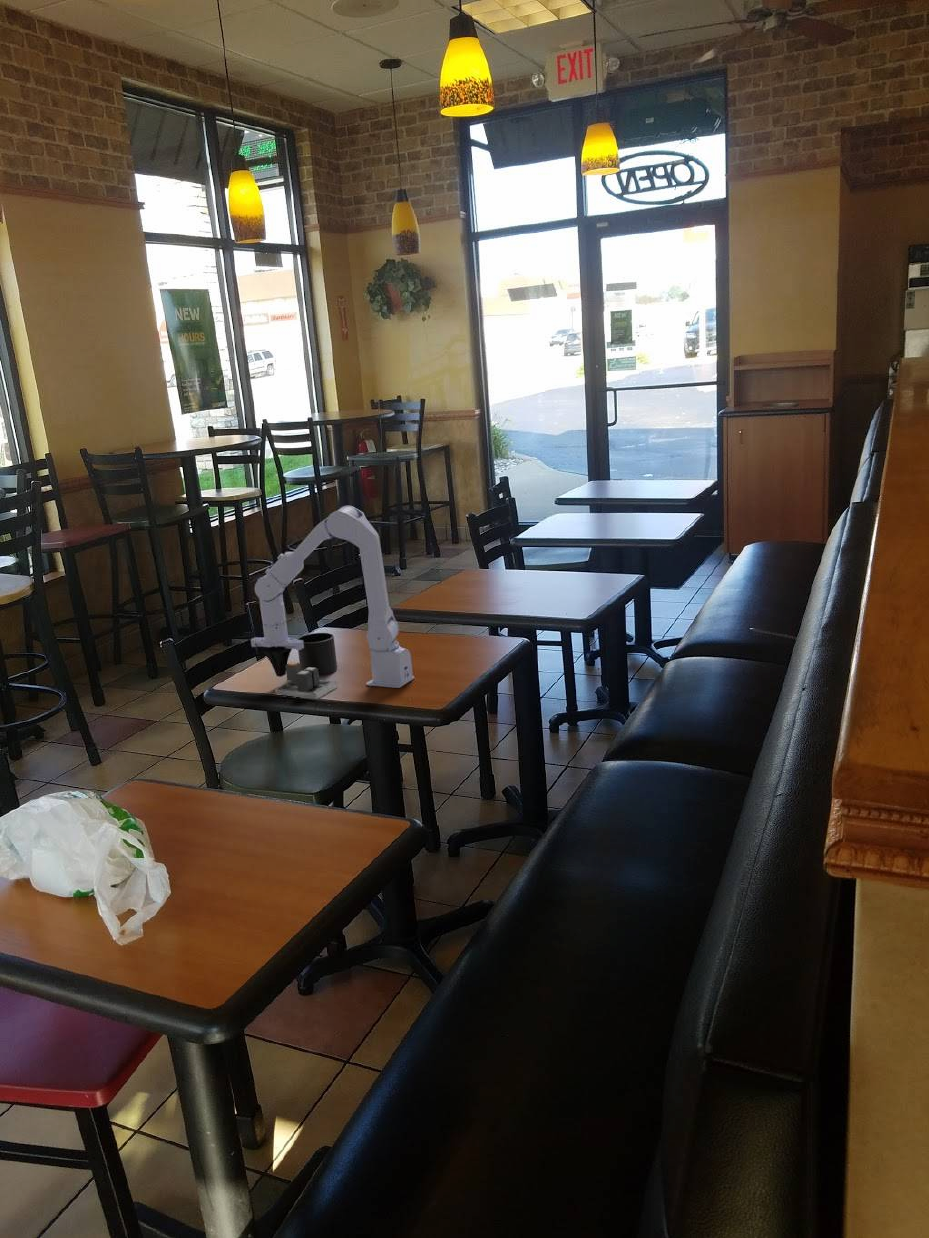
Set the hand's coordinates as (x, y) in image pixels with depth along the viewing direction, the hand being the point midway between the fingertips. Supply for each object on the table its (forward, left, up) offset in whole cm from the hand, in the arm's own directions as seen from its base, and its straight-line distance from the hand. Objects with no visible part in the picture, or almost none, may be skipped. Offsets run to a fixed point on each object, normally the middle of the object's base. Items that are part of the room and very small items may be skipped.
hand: (281, 675), depth 239 cm
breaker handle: (-4, 0, -1) cm, 4 cm away
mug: (-3, -13, -3) cm, 14 cm away
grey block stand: (-9, +3, -3) cm, 10 cm away
